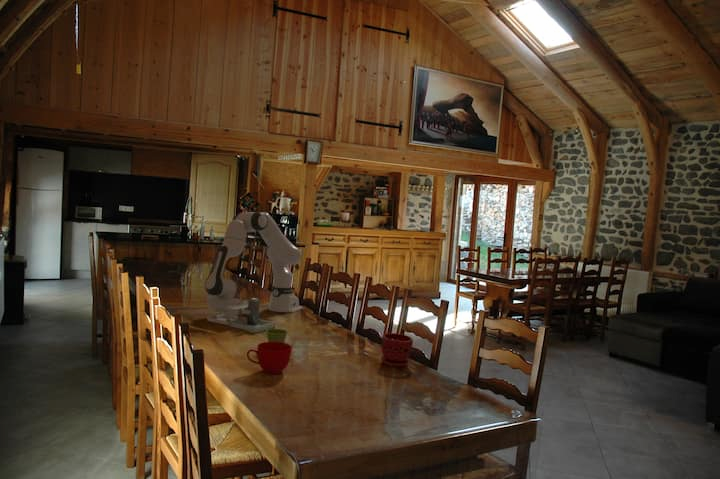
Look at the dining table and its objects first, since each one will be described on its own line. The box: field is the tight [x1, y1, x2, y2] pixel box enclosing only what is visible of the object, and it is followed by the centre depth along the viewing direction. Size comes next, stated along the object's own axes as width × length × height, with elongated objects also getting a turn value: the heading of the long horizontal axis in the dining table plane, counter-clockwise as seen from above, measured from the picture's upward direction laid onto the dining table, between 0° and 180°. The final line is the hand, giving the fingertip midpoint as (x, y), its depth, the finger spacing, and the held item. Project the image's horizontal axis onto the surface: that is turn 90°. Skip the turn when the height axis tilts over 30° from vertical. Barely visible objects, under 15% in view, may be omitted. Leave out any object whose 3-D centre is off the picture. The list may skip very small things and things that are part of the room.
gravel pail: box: [246, 297, 260, 325], centre depth 275 cm, size 6×6×13 cm
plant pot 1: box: [265, 328, 289, 343], centre depth 238 cm, size 9×9×9 cm
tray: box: [206, 313, 247, 326], centre depth 283 cm, size 14×14×3 cm
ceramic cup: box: [246, 341, 292, 375], centre depth 209 cm, size 13×17×10 cm
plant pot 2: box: [380, 332, 414, 368], centre depth 232 cm, size 13×13×12 cm
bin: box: [229, 317, 276, 335], centre depth 275 cm, size 16×16×3 cm
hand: (254, 311), depth 274 cm, fingers closed on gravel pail, 5 cm apart
